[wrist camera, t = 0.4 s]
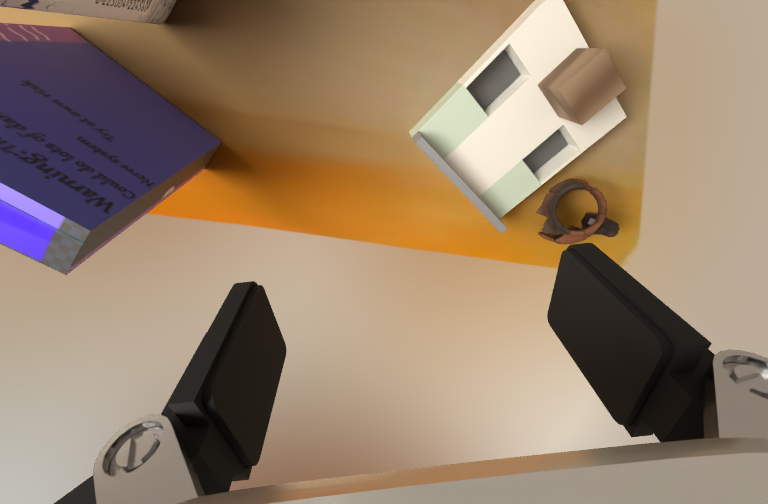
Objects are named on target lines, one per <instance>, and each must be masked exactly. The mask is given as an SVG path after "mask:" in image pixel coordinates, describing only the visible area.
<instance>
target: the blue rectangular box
mask: <svg viewBox="0 0 768 504" xmlns="http://www.w3.org/2000/svg"><path fill="white" fill-rule="evenodd" d="M221 143H222V141H221V140H219V139H218V138H217V137H215V136H214V135H213V134H211V133H210V132H209V131H207V130H206V129H205V128H203V127H202V126H201V125H199V124H198V123H197V122H195V121H194V120H193V119H191V118H190V117H189V116H187V115H186V114H185V113H183V112H182V111H181V110H179V109H178V108H177V107H175V106H174V105H173V104H171V103H170V102H169V101H167V100H166V99H165V98H163V97H162V96H161V95H159V94H158V93H157V92H156V91H154V90H153V89H152V88H150V87H149V86H148V85H146V84H145V83H144V82H142V81H141V80H140V79H138V78H137V77H136V76H134V75H133V74H132V73H130V72H129V71H128V70H126V69H125V68H124V67H122V66H121V65H120V64H118V63H117V62H116V61H114V60H113V59H112V58H110V57H109V56H108V55H106V54H105V53H104V52H102V51H101V50H100V49H98V48H97V47H96V46H94V45H93V44H92V43H90V42H89V41H88V40H86V39H85V38H84V37H82V36H81V35H80V34H78V33H77V32H76V31H74V30H73V29H72V28H68V27H53V26H38V25H24V24H9V23H0V244H2V245H4V246H6V247H8V248H10V249H12V250H14V251H17V252H19V253H21V254H23V255H25V256H27V257H29V258H31V259H34V260H36V261H38V262H40V263H42V264H45V265H46V266H48V267H51V268H53V269H55V270H57V271H59V272H61V273H63V274H65V275H67V274H68V273H69V272H70V271H72V270H73V269H74V268H76V267H77V266H78V265H80V264H81V263H82V262H83V261H85V260H86V259H87V258H89V257H90V256H91V255H93V254H94V253H95V252H97V251H98V250H99V249H100V248H102V247H103V246H104V245H106V244H107V243H108V242H110V241H111V240H112V239H113V238H115V237H116V236H117V235H119V234H120V233H121V232H122V231H124V230H125V229H127V228H128V227H129V226H130V225H132V224H133V223H134V222H136V221H137V220H138V219H140V218H141V217H142V216H143V215H145V214H146V213H147V212H149V211H150V210H151V209H153V208H154V207H155V206H156V205H158V204H159V203H160V202H162V201H163V200H164V199H166V198H167V197H168V196H169V195H171V194H172V193H173V192H175V191H176V190H177V189H179V188H180V187H181V186H183V185H184V184H185V183H186V182H188V181H189V180H190V179H192V178H193V177H194V176H196V175H197V174H198V173H199V172H201V171H202V170H203V169H204V168H205V167H206V165H207V164H208V163H209V161H210V160H211V158H212V157H213V155H214V154H215V152H216V151H217V149H218V148H219V146H220V145H221Z"/></svg>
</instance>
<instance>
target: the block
mask: <svg viewBox="0 0 768 504" xmlns="http://www.w3.org/2000/svg"><path fill="white" fill-rule="evenodd" d="M538 87H539V88H540V90H541V91H542V93H543V94H544V96H545V97H546V99H547V100H548V102H549V103H550V105H551V106H552V108H553V110H554V111H555V113H556V114H557V116H558V117H560V118H563V119H566V120H568V121H571V122H574V123H577V124H580V125H583V124H584V123H586V122H587V121H588V120H589V119H590V118H592V117H593V116H594V115H595V114H596V113H598V112H599V111H600V110H601V109H602V108H604V107H605V106H606V105H607V104H608V103H610V102H611V101H612V100H613V99H614V98H616V97H617V96H618V95H619V94H620V93H622V92H623V91H624V90H625V89H626V86H625V84H624V83H623V81H622V79H621V77H620V75H619V73H618V71H617V69H616V67H615V65H614V63H613V61H612V59H611V58H610V56H609V54H608V52H607V50H606V48H576V49H575V50H574V51H573V52H572V53H571V54H570V55H569V56H568V57H567V58H565V59H564V60H563V61H562V62H561V63H560V64H559V65H558V66H557V67H556V68H555V69H554V70H553V71H552V72H550V73H549V74H548V75H547V76H546V77H545V78H544V79H543V80H542V81H541V82H540V83H539V84H538Z"/></svg>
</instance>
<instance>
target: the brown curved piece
mask: <svg viewBox="0 0 768 504" xmlns="http://www.w3.org/2000/svg"><path fill="white" fill-rule="evenodd" d="M576 189H585V190H587V191H589V192H590V193H591V194H592V195H593V196H594V197H595V199H596V201H597V203H598V214H594V213H586V214H585V216H584V218H583V219H582V221H581V222H582V229H580V228H578V227H574V226H570V227H569V228H568V229H567V228H566V227H564V226H563V225H562V224H561V223H560V222H559V220H558V218H557V215H556V208H557V204H558V201H559V200H560V198H561V197H562V196H563V195H564V194H566V193H567V192H569V191H571V190H576ZM549 192H550V193H548V194H546V196H545V198H544V201H543V203H542V205H541V207H540V208H539V209H538V210H537V212H536V213H539V214H541V215H544V216H546V217H547V218H548V219H547V220H546V221H545V223H544V227H543V229H542V230H543V232H544V233H545V234H543V233H541V232H539V233H538V234H539V235H540V236H541V237H543V238H544V239H547V240H549V241H554V242H556V243H558V244H572V243H576V242H580V241H582V240H585V239H586V238H587V237H590V236H591V235H593V234H601V235H604V236H607V237H614V236H615V235H617V234H618V230H619V225H618V224H617V223H616V222H614V221H612V220H609V219H608V218H607V217H606V213H607V204H606V200H605V198H604V196H603V194H602V193H601V192H600V191H599V190H598V189H597V188H593V187H591V186H589V184H588V183H587V182H584V181H581V180H577V179H569V180H566V181H563V182H561V183H559V184H557V185H556V186H554V187H553V188H551V189H550V190H549ZM546 234H559V235H555V236H551V235H546Z"/></svg>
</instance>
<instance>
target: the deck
mask: <svg viewBox="0 0 768 504" xmlns="http://www.w3.org/2000/svg"><path fill="white" fill-rule="evenodd" d="M576 48H589V47H588V45H587V43H586V41H585V40H584V38H583V36H582V34H581V32H580V30H579V29H578V27H577V25H576V23H575V21H574V19H573V18H572V16H571V14H570V12H569V10H568V8H567V7H566V5H565V3H564V1H563V0H535V1H534V2H533V3H532V4H531V5H530V6H529V7H528V8H527V9H526V10H525V11H524V12H523V14H522V15H521V16H520V17H519V18H518V19H517V20H516V21H515V22H514V23H513V24H512V25H511V26H510V27H509V28H508V29H507V30H506V31H505V32H504V33H503V34H502V35H501V36H500V37H499V39H498V40H497V41H496V42H495V43H494V44H493V45H492V46H491V47H490V48H489V49H488V50H487V51H486V52H485V53H484V54H483V55H482V56H481V57H480V58H479V59H478V60H477V61H476V63H475V64H474V65H473V66H472V67H471V68H470V69H469V70H468V71H467V72H466V73H465V74H464V75H463V76H462V77H461V78H460V79H459V80H458V81H457V82H456V83H455V84H454V85H453V87H452V88H451V89H450V90H449V91H448V92H447V93H446V94H445V95H444V96H443V97H442V98H441V99H440V100H439V101H438V102H437V103H436V104H435V105H434V106H433V107H432V108H431V109H430V111H429V112H428V113H427V114H426V115H425V116H424V117H423V118H422V119H421V120H420V121H419V122H418V123H417V124H416V125H415V126H414V127H413V128H412V129H411V130H410V131H409V133H410V135H411V136H412V138H413V140H414V142H415V144H416V145H417V146H418V147H419V148H420V149H421V150H422V151H423V152H424V153H425V154H426V155H427V156H428V157H429V158H430V159H431V160H432V161H433V162H434V163H435V164H436V166H437V167H438V168H439V169H440V170H441V171H442V172H443V173H444V174H445V175H446V176H447V177H448V178H449V179H450V180H451V181H452V182H453V183H454V184H455V185H456V186H457V188H458V189H459V190H460V191H461V192H462V193H463V194H464V195H465V196H466V197H467V198H468V199H469V200H470V201H471V202H472V203H473V204H474V205H475V206H476V207H477V208H478V210H479V211H480V212H481V213H482V214H483V215H484V216H485V217H486V218H487V219H488V220H489V221H490V222H491V223H492V224H493V225H494V226H495V227H496V228H497V229H498V230H499V232H500V233H503V232H504V231H505V230H507V228H506V226H505V225H504V224H503V223H502V221H501V220H500V218H501V217H503V216H504V215H505V214H506V213H507V212H509V211H510V210H511V209H512V208H514V207H515V206H516V205H517V204H519V203H520V202H521V201H522V200H524V199H525V198H526V197H527V196H529V195H530V194H531V193H532V192H534V191H535V190H536V189H537V188H539V187H540V186H541V185H542V184H544V183H545V182H546V181H547V180H549V179H550V178H551V177H552V176H554V175H555V174H556V173H557V172H559V171H560V170H561V169H562V168H564V167H565V166H566V165H567V164H569V163H570V162H571V161H572V160H574V159H575V158H576V157H577V156H579V155H580V154H581V153H582V152H584V151H585V150H586V149H587V148H589V147H590V146H591V145H592V144H594V143H595V142H596V141H597V140H599V139H600V138H601V137H602V136H603V135H605V134H606V133H607V132H608V131H610V130H611V129H612V128H613V127H615V126H616V125H617V124H618V123H620V122H621V121H622V120H623V119H625V118H626V115H625V113H624V111H623V109H622V107H621V106H620V104H619V102H618V100H617V98H614V99H613V100H612V101H611V102H610V103H608V104H607V105H606V106H605V107H604V108H602V109H601V110H600V111H599V112H598V113H596V114H595V115H594V116H593V117H592V118H590V119H589V120H588V121H587V122H586V123H584V124H583V125H580V124H577V123H574V122H571V121H568V120H566V119H563V118H560V117H558V116H557V114H556V113H555V111H554V110H553V108H552V106H551V105H550V103H549V102H548V100H547V99H546V97H545V96H544V94H543V93H542V91H541V90H540V88H539V87H538V84H539V83H540V82H541V81H542V80H543V79H544V78H545V77H546V76H547V75H548V74H549V73H550V72H552V71H553V70H554V69H555V68H556V67H557V66H558V65H559V64H560V63H561V62H562V61H563V60H564V59H565V58H567V57H568V56H569V55H570V54H571V53H572V52H573V51H574V50H575V49H576ZM505 52H506V53H505ZM507 55H508V56H507ZM509 58H510V59H509ZM511 61H512V62H511ZM513 64H514V65H513ZM518 71H519V72H518ZM558 130H559V131H558ZM560 133H561V134H560ZM562 136H563V137H562ZM564 139H565V140H564Z"/></svg>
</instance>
